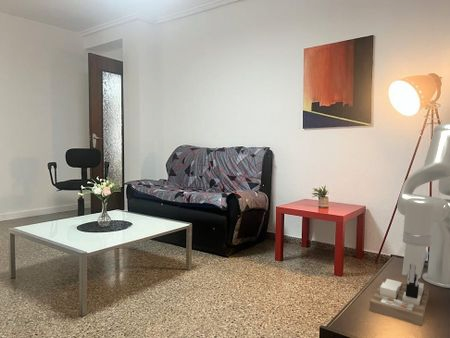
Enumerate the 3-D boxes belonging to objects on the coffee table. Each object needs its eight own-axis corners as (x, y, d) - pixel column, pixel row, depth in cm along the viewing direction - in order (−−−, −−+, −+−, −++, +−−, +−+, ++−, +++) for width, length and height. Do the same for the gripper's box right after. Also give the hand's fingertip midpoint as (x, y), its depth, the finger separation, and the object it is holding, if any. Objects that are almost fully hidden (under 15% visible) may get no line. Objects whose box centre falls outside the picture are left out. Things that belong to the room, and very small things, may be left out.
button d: (403, 300, 109) (404, 291, 109) (420, 304, 106) (421, 295, 106) (401, 305, 105) (402, 296, 105) (418, 310, 103) (419, 301, 102)
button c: (382, 290, 113) (382, 282, 112) (397, 294, 110) (398, 286, 110) (379, 295, 109) (380, 286, 109) (395, 299, 106) (396, 290, 106)
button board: (383, 286, 122) (383, 277, 122) (428, 298, 114) (428, 288, 114) (369, 310, 104) (370, 299, 104) (421, 325, 96) (422, 314, 96)
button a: (386, 286, 119) (387, 278, 119) (400, 290, 117) (401, 282, 116) (383, 290, 116) (384, 282, 115) (398, 294, 113) (399, 286, 113)
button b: (407, 287, 115) (408, 279, 115) (423, 291, 113) (423, 283, 113) (405, 292, 112) (406, 284, 111) (421, 296, 109) (422, 288, 109)
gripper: (406, 231, 112) (401, 285, 114) (399, 241, 100) (394, 301, 102) (432, 236, 108) (427, 291, 109) (429, 246, 96) (423, 309, 97)
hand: (411, 296), depth 106 cm, fingers closed
